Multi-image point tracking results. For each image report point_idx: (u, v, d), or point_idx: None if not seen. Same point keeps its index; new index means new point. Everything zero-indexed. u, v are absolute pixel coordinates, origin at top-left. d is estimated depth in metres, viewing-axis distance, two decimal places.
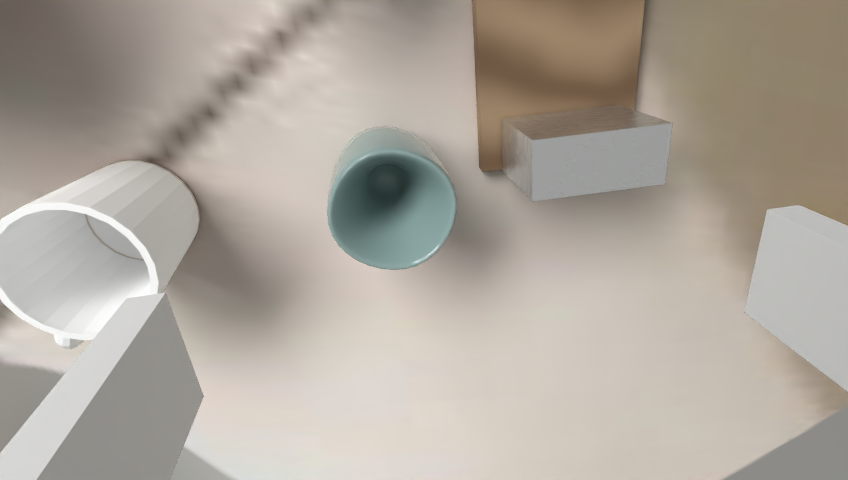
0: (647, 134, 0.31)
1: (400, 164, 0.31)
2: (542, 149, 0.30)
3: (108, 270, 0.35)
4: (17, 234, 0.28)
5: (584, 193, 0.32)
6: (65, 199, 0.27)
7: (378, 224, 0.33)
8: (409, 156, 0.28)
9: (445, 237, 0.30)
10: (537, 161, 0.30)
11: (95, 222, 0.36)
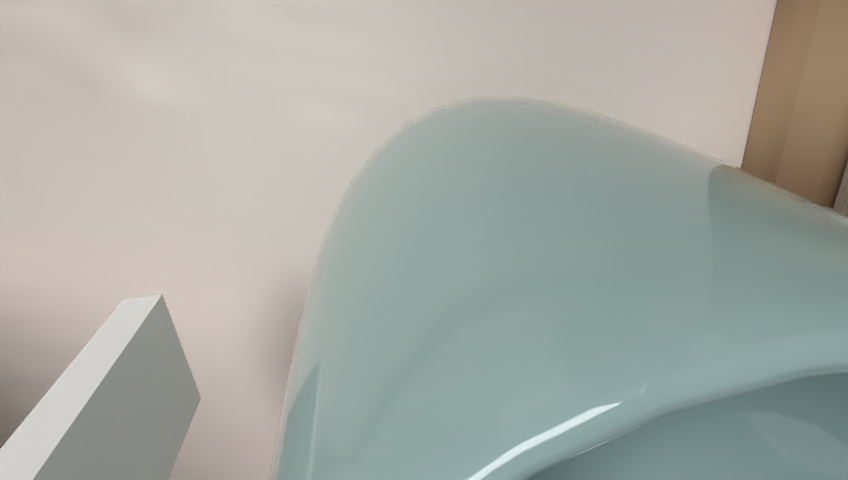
0: None
1: None
2: None
3: None
4: None
5: None
6: None
7: None
8: None
9: None
10: None
11: None
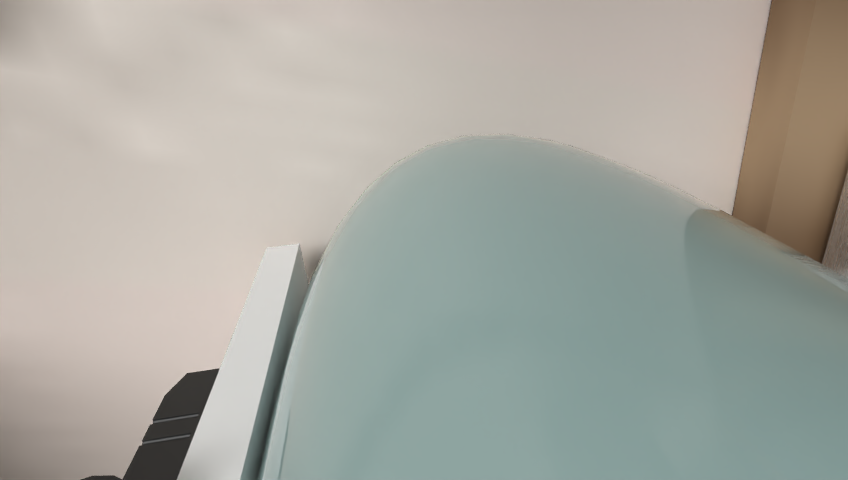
0: None
1: None
2: None
3: None
4: None
5: None
6: None
7: None
8: None
9: None
10: None
11: None
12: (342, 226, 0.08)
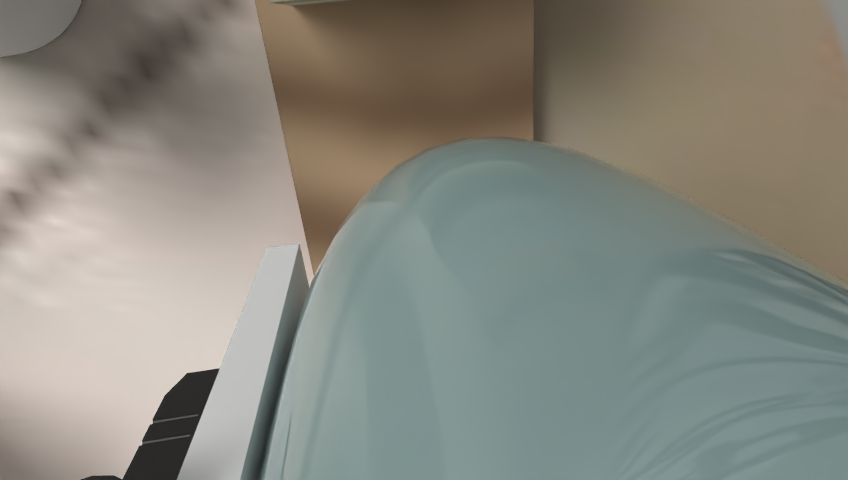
0: None
1: None
2: None
3: None
4: None
5: None
6: None
7: None
8: None
9: None
10: None
11: None
12: (342, 229, 0.08)
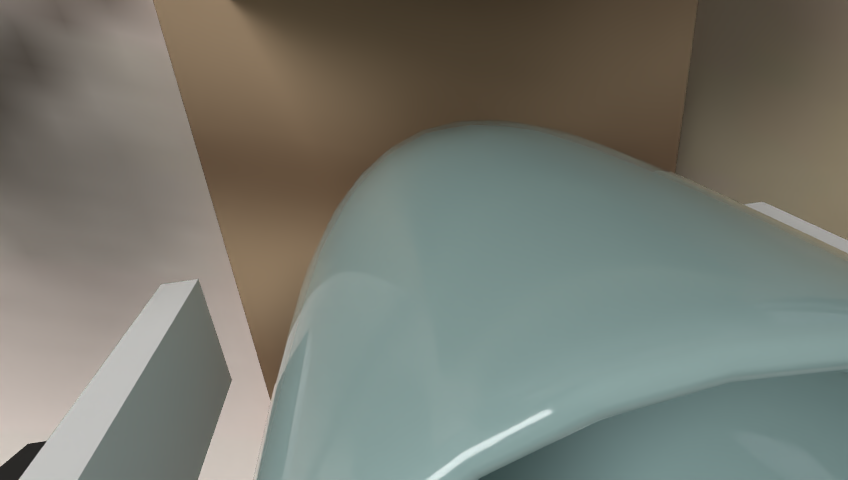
0: None
1: None
2: None
3: None
4: None
5: None
6: None
7: None
8: None
9: None
10: None
11: None
12: (343, 200, 0.09)
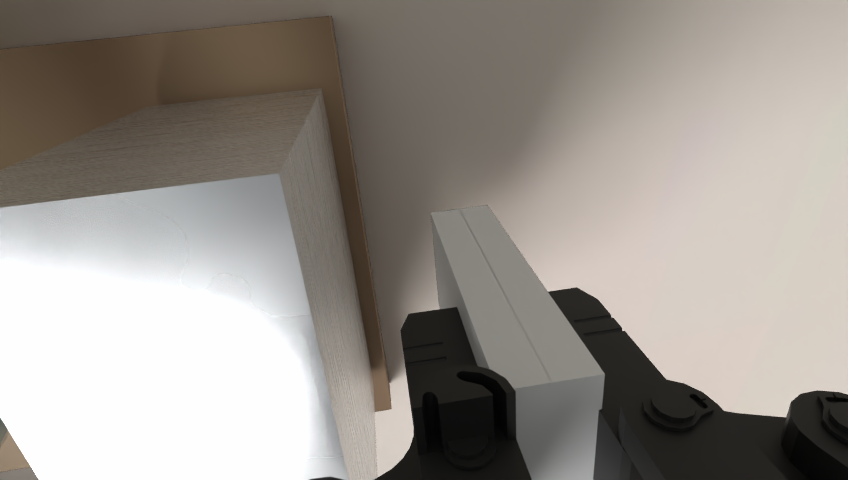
0: (6, 342, 0.06)
1: None
2: None
3: None
4: None
5: None
6: None
7: None
8: None
9: None
10: None
11: None
12: None
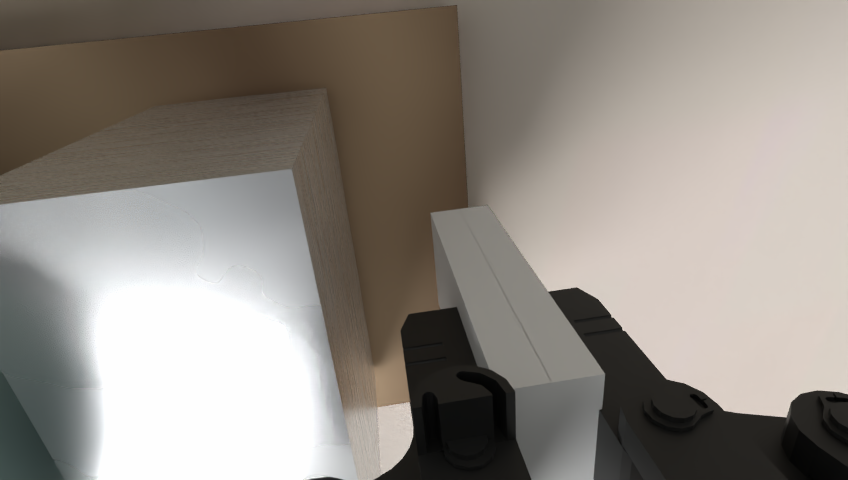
0: (28, 331, 0.06)
1: None
2: None
3: None
4: None
5: None
6: None
7: None
8: None
9: None
10: None
11: None
12: None
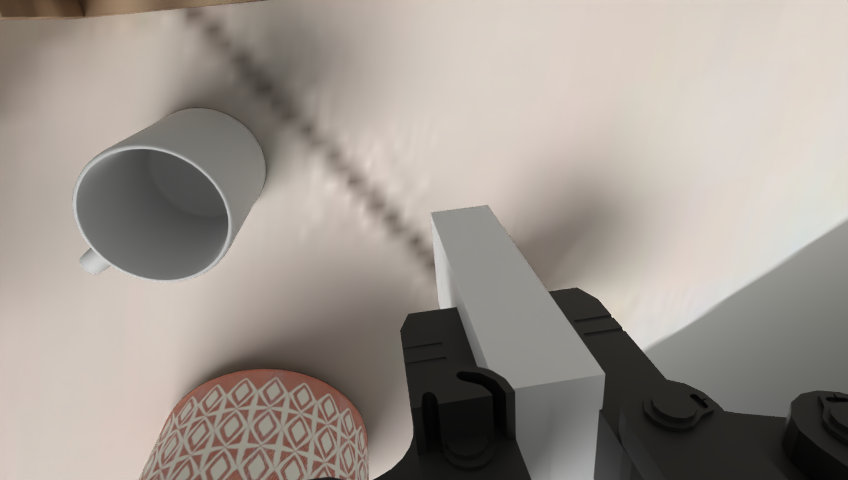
0: None
1: None
2: None
3: None
4: None
5: None
6: None
7: None
8: None
9: None
10: None
11: None
12: None
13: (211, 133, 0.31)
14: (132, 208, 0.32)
